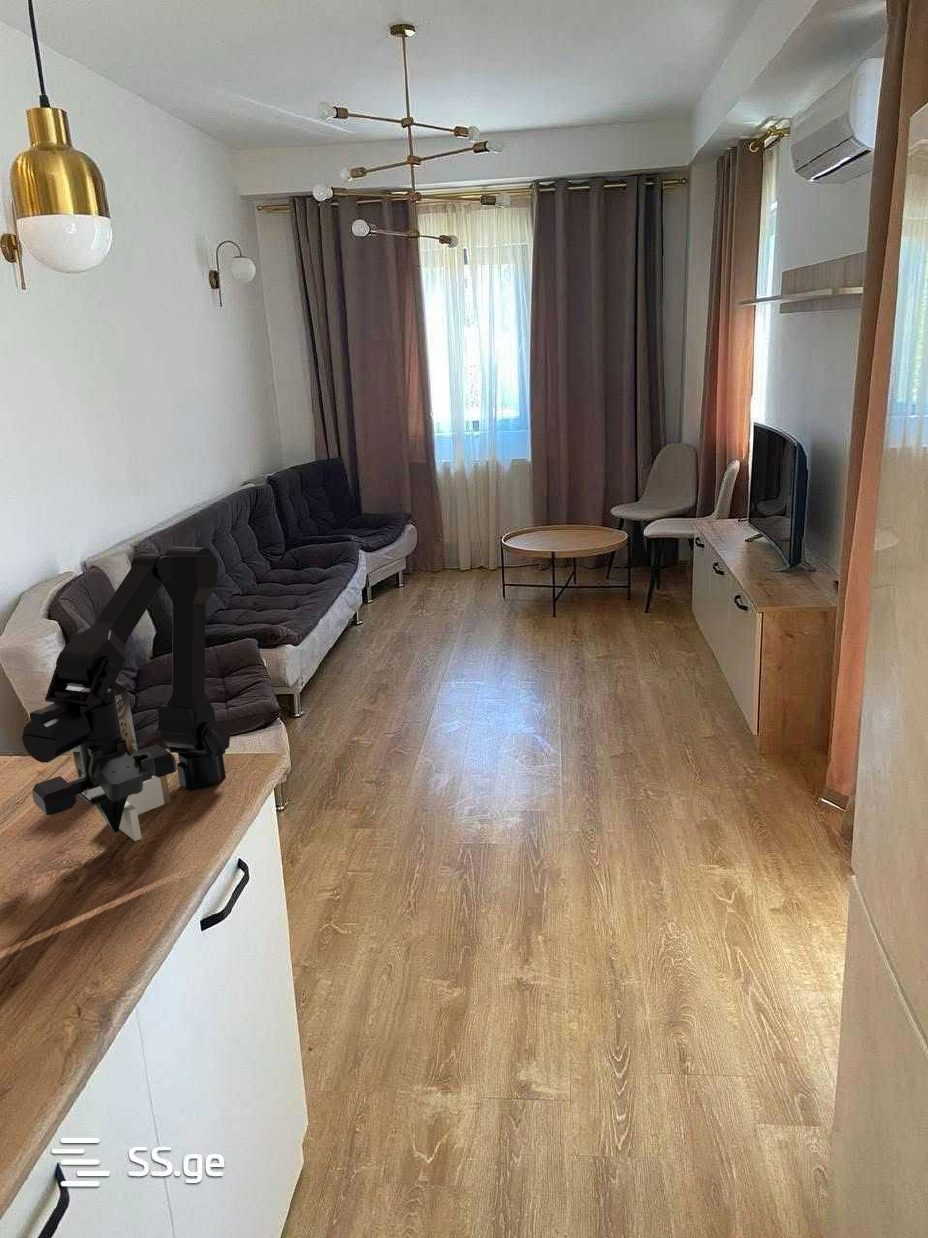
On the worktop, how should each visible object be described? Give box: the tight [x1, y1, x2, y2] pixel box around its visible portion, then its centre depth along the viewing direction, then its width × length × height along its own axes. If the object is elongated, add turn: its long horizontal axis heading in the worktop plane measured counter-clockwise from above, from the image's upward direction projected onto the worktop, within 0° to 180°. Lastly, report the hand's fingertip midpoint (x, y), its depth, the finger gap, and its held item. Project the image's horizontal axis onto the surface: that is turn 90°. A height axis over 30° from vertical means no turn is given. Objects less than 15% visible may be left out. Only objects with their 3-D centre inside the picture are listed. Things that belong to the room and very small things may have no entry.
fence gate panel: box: [119, 801, 142, 842], centre depth 135 cm, size 7×1×5 cm, turn 44°
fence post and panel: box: [126, 775, 172, 815], centre depth 141 cm, size 10×2×6 cm, turn 133°
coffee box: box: [71, 681, 138, 779], centre depth 152 cm, size 9×6×16 cm
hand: (115, 831), depth 133 cm, fingers closed
